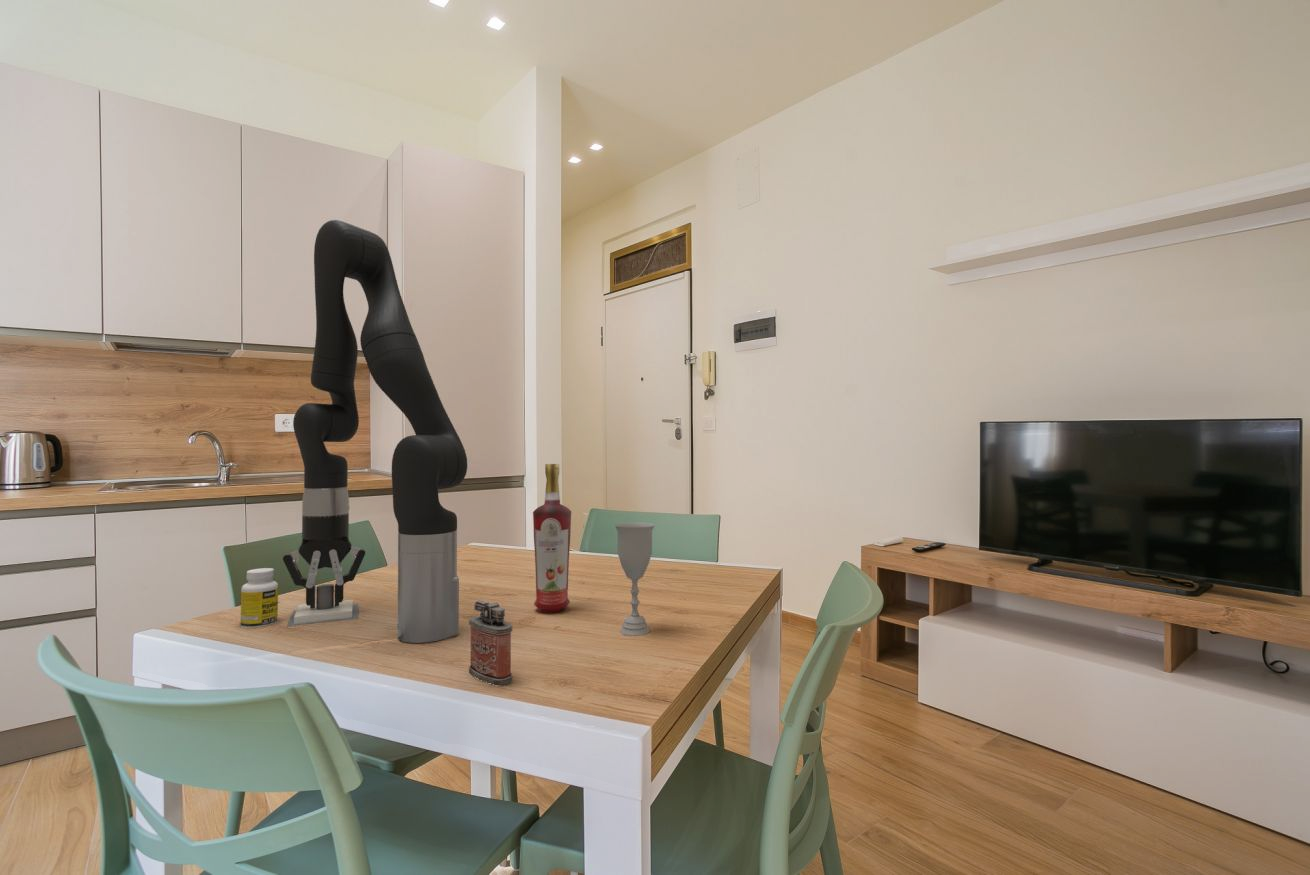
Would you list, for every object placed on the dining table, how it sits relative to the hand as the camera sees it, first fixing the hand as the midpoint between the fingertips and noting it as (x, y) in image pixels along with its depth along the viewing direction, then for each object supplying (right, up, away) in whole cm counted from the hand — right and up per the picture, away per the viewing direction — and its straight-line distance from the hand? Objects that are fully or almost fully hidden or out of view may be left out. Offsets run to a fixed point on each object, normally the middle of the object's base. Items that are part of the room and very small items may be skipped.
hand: (325, 605), depth 110 cm
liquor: (+41, -2, +5) cm, 41 cm away
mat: (0, -2, 0) cm, 2 cm away
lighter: (+38, -2, -28) cm, 47 cm away
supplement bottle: (-9, -2, -5) cm, 10 cm away
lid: (0, -2, 0) cm, 2 cm away
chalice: (+57, -2, -8) cm, 58 cm away
